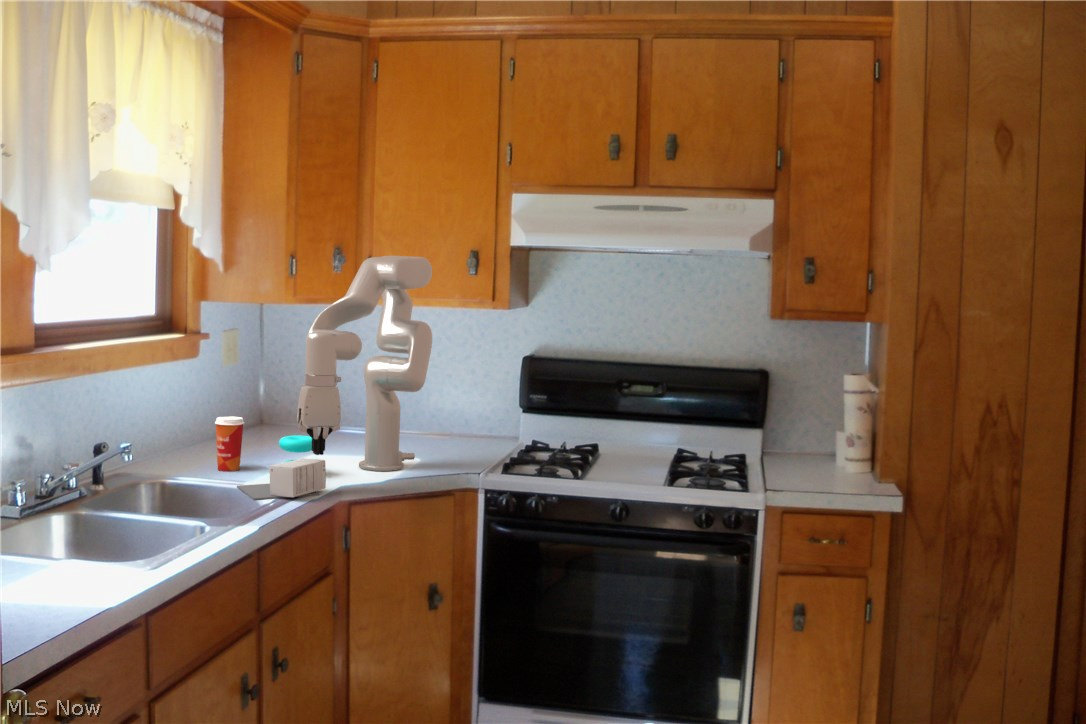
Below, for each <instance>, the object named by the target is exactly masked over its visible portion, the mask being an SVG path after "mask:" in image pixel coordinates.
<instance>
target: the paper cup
mask: <svg viewBox="0 0 1086 724" xmlns="http://www.w3.org/2000/svg"><path fill="white" fill-rule="evenodd" d="M214 424H215V433H216V434H215V435H216V459H217V470H218V471H219V470H220V472H237V471H239V470H240V466H241V458H242V457H241V455H242V445H243V444H242V443H243V433H244V431H243V430H244V424H245V421H244V418H243V417H242V416H241V417H240V416H233V415H231V416H218V417H216V419H215V422H214Z"/></svg>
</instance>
